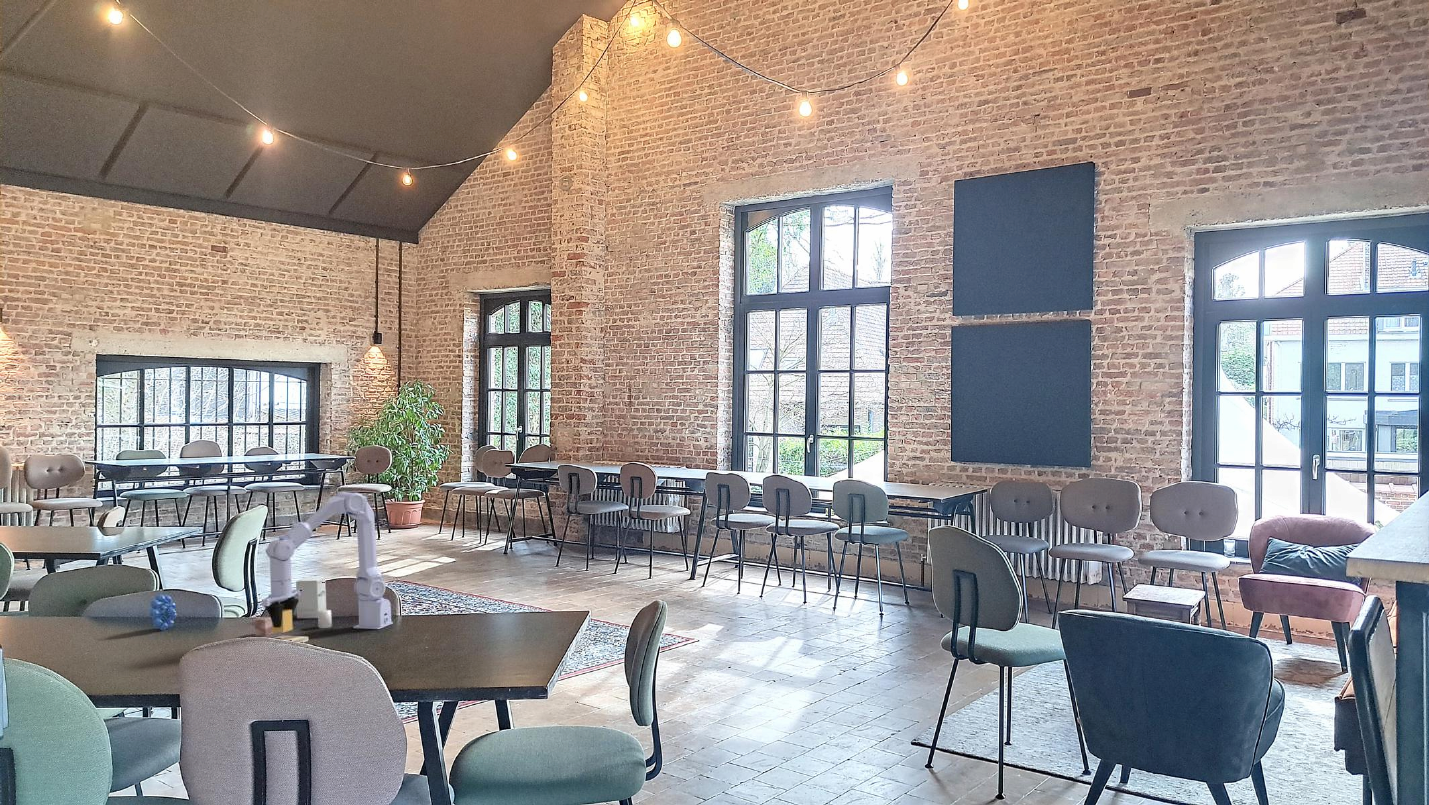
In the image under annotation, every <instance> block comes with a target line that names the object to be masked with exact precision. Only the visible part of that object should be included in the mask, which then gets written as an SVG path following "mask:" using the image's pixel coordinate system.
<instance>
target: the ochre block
mask: <svg viewBox="0 0 1429 805" xmlns="http://www.w3.org/2000/svg"><path fill="white" fill-rule="evenodd" d="M293 629H294V627H293V618H292V610H289V609H283V611H282V622H281V627H274V626H273V623H272V632H275V633H282V634H283V633H286V632H287V633H288V632H290V631H293Z"/></svg>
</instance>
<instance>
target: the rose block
mask: <svg viewBox="0 0 1429 805" xmlns="http://www.w3.org/2000/svg"><path fill="white" fill-rule="evenodd" d="M253 620H254V635H255V636H257V637H266V636H270V635H273V634H275V633H276V632H272V620H271V617H270V616H261V617H258V618H255V619H253Z"/></svg>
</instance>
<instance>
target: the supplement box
mask: <svg viewBox="0 0 1429 805" xmlns="http://www.w3.org/2000/svg"><path fill="white" fill-rule="evenodd" d="M322 582H325V583H322ZM326 587H327V586H326V576H309V577H302V578H300V579H298V580H296V581H295V588H296V589H295V590H302V591H300V593H301V596H299V597H295V599H299V602H298V604H297V606H296V619H318V611H321V610H327V591H326V590H327V588H326Z"/></svg>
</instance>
